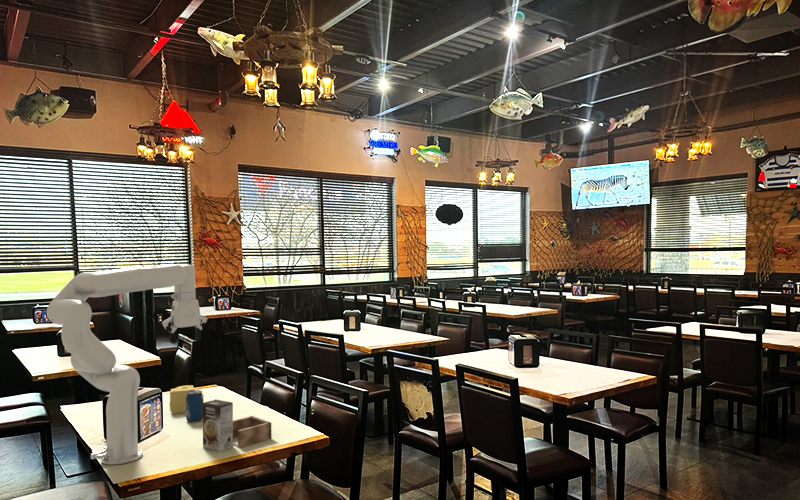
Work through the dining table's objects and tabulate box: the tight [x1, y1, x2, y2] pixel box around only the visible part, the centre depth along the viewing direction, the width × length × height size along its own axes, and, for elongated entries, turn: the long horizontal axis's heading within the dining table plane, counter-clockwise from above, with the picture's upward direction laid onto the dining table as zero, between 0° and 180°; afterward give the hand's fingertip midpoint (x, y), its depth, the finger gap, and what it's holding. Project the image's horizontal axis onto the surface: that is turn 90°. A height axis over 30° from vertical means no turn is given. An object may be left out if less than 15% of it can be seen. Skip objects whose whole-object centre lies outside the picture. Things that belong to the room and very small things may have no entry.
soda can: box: [185, 389, 205, 424], centre depth 229 cm, size 7×7×12 cm
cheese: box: [169, 384, 196, 415], centre depth 246 cm, size 10×11×10 cm
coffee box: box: [202, 399, 234, 453], centre depth 196 cm, size 9×6×16 cm
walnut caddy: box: [233, 415, 273, 449], centre depth 204 cm, size 13×13×6 cm
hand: (185, 341), depth 209 cm, fingers open, 9 cm apart
